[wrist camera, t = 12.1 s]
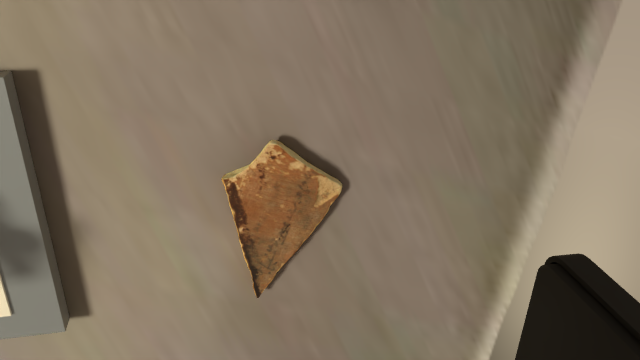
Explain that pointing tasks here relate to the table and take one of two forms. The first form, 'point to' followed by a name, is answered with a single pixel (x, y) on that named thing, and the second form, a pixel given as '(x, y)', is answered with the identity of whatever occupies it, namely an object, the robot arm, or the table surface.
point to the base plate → (24, 234)
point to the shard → (277, 207)
